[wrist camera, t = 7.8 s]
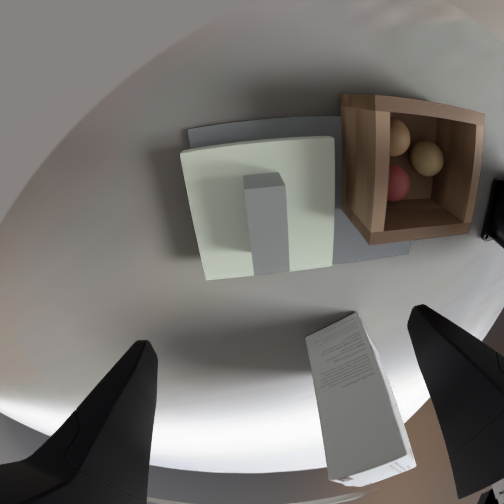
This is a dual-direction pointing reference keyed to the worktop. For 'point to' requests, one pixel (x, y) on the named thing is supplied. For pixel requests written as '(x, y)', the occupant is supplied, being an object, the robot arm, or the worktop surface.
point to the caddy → (409, 167)
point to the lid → (262, 205)
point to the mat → (345, 233)
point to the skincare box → (356, 406)
